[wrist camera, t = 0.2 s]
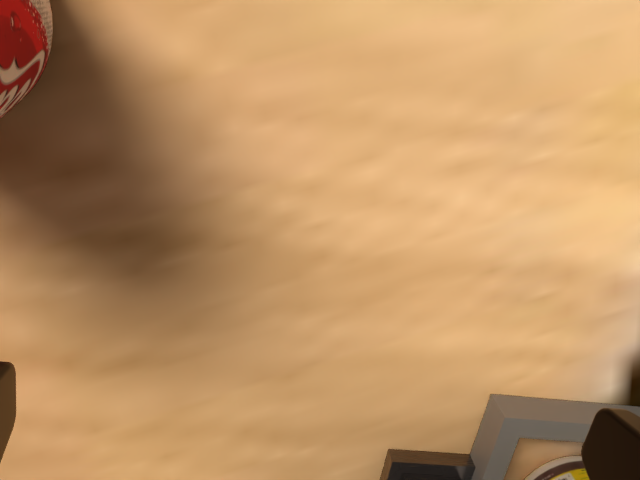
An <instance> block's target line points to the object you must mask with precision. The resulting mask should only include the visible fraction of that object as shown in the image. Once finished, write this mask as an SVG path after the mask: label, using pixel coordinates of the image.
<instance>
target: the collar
mask: <svg viewBox="0 0 640 480" xmlns="http://www.w3.org/2000/svg"><path fill="white" fill-rule="evenodd" d="M602 408H618V409H625V410H628V411H630V412H632V413H634V414H636V415H637V416H639V417H640V407H637V406H625V405H614V404H602V403H590V402H579V401H567V400H555V399H544V398H532V397H521V396H509V395H497V394H491V395H490V398H489V401H488V404H487V407H486V410H485V413H484V415H483V418H482V421H481V424H480V427H479V430H478V433H477V436H476V438H475V441H474V444H473V447H472V450H471V453H470V456H471V458H472V460H473V462H474V465H475V467H476V468H475V471H474V473H473V476H472V479H471V480H503V479H504V477H505V474H506V472H507V469H508V466H509V464H510V461H511V458H512V456H513V453H514V451H515V448H516V445H517V443H518V440H519V438H530V439H544V440H558V441H571V442H584V441H585V439H586V436H587V434H588V431H589V429H590V426H591V424H592V421H593V419H594V417H595V414H596V413H597V412H598V411H599V410H600V409H602Z"/></svg>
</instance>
